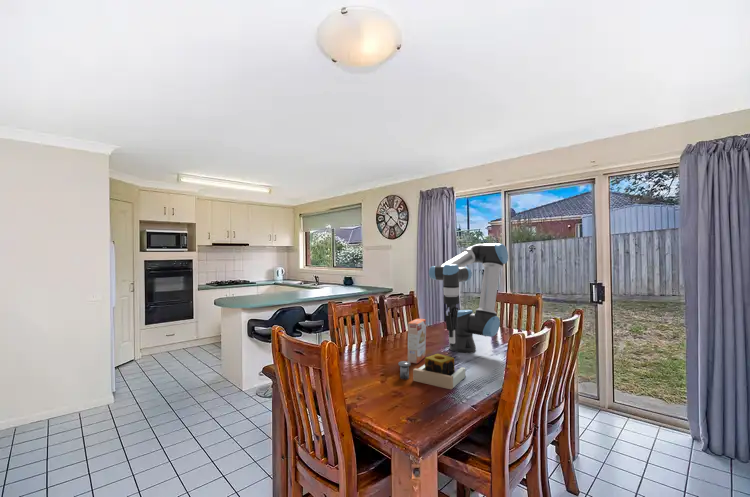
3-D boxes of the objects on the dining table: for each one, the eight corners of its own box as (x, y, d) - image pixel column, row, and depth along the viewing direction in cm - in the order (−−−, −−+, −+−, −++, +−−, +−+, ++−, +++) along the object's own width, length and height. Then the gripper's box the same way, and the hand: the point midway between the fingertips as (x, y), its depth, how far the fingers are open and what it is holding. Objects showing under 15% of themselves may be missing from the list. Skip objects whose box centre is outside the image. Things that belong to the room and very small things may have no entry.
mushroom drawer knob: (402, 374, 164) (402, 360, 164) (412, 377, 160) (412, 362, 160) (396, 378, 159) (396, 363, 159) (407, 380, 156) (407, 365, 156)
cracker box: (418, 364, 178) (418, 323, 179) (407, 362, 181) (407, 322, 181) (426, 356, 191) (426, 318, 191) (416, 355, 194) (416, 317, 194)
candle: (441, 385, 151) (441, 362, 151) (423, 379, 158) (423, 357, 158) (455, 379, 157) (455, 357, 157) (437, 374, 165) (437, 353, 165)
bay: (429, 369, 171) (429, 359, 171) (465, 376, 161) (465, 365, 161) (413, 380, 156) (413, 369, 156) (451, 389, 146) (451, 377, 146)
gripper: (448, 293, 178) (449, 338, 179) (438, 297, 168) (439, 345, 168) (463, 294, 174) (463, 340, 175) (453, 298, 163) (454, 347, 164)
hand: (452, 343), depth 171 cm, fingers closed
